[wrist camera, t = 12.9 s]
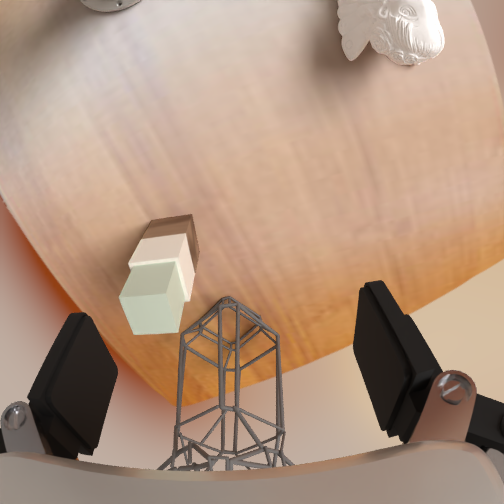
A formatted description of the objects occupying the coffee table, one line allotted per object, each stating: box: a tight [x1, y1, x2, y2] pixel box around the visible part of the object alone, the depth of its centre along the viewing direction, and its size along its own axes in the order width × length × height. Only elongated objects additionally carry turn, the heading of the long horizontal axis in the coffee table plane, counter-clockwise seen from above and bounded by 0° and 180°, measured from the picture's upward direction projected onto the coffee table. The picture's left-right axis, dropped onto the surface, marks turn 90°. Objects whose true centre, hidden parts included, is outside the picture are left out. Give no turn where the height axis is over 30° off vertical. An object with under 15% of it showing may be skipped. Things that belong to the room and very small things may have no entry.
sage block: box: [119, 261, 185, 335], centre depth 33 cm, size 5×5×6 cm
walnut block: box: [142, 214, 200, 273], centre depth 44 cm, size 6×6×6 cm
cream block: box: [128, 233, 195, 302], centre depth 39 cm, size 6×6×6 cm
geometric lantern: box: [157, 296, 295, 471], centre depth 40 cm, size 16×16×35 cm
